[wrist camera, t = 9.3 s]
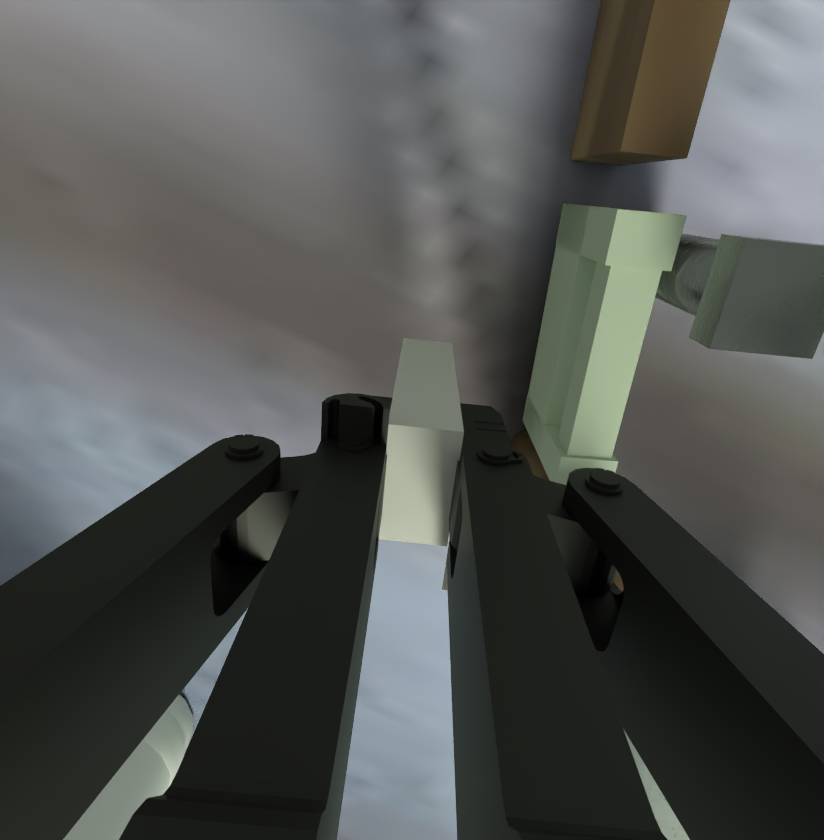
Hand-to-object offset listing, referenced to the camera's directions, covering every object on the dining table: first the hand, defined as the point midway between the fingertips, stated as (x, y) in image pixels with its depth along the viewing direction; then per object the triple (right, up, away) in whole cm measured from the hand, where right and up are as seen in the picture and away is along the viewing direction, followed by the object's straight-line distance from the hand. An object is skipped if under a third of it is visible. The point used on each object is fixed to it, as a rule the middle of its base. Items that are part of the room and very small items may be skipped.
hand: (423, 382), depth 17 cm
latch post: (+8, +5, +3) cm, 10 cm away
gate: (+6, +3, +4) cm, 7 cm away
